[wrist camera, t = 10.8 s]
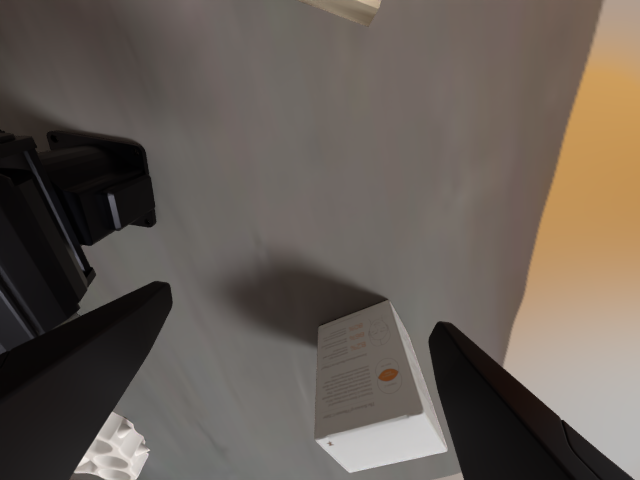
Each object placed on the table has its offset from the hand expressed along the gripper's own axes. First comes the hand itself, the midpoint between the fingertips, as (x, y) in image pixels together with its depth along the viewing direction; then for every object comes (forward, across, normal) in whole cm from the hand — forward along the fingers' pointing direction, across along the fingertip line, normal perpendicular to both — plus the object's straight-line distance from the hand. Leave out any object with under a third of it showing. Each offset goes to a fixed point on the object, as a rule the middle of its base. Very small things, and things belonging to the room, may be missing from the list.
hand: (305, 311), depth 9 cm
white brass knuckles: (+14, +26, +42) cm, 51 cm away
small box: (+13, -7, +14) cm, 20 cm away
